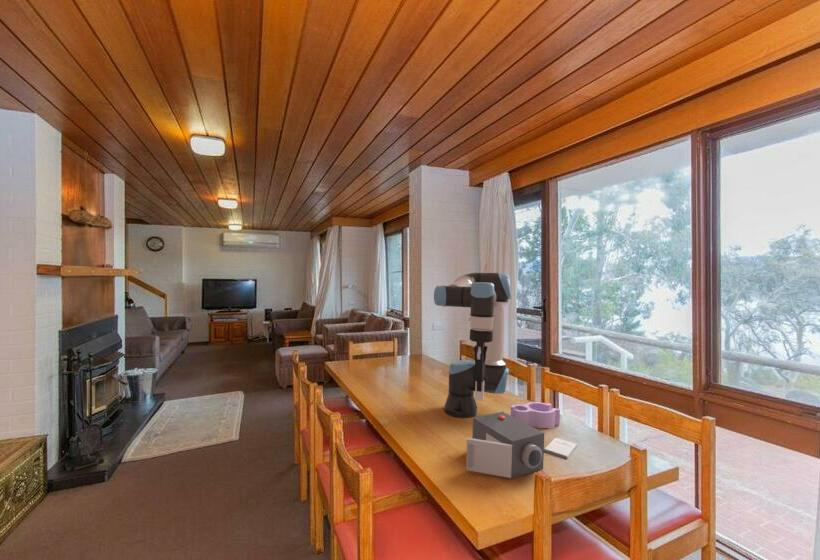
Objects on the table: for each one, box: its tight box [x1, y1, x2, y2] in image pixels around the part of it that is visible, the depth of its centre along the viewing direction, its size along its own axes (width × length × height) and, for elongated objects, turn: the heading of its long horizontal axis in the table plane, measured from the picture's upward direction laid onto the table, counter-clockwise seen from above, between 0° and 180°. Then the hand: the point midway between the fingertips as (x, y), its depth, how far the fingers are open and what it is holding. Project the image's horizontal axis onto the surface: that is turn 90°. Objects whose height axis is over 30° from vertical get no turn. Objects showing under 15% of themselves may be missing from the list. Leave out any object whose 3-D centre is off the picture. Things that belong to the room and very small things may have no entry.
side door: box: [465, 437, 512, 479], centre depth 115 cm, size 14×2×10 cm, turn 73°
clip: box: [510, 401, 561, 429], centre depth 157 cm, size 20×12×7 cm, turn 100°
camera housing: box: [471, 411, 545, 480], centre depth 125 cm, size 23×14×13 cm, turn 28°
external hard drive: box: [544, 437, 578, 460], centre depth 135 cm, size 2×8×12 cm
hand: (479, 399), depth 120 cm, fingers closed
